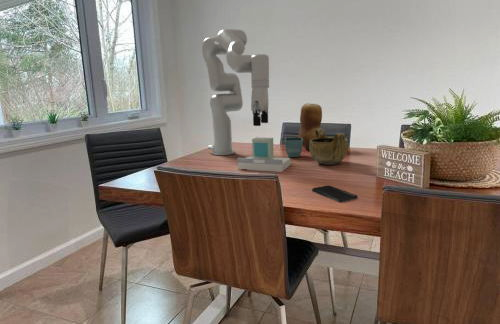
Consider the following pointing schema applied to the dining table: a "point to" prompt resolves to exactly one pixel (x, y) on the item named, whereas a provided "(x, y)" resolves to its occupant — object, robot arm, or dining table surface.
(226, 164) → the dining table surface
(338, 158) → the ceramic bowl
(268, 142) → the carton
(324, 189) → the phone
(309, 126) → the butternut squash
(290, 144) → the flower pot
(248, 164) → the flat grey box
